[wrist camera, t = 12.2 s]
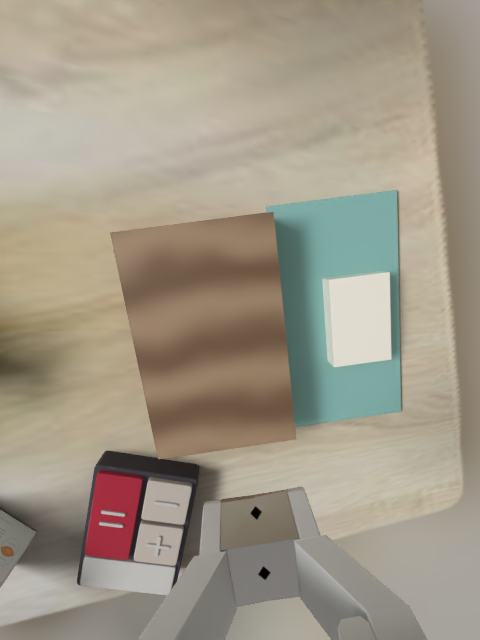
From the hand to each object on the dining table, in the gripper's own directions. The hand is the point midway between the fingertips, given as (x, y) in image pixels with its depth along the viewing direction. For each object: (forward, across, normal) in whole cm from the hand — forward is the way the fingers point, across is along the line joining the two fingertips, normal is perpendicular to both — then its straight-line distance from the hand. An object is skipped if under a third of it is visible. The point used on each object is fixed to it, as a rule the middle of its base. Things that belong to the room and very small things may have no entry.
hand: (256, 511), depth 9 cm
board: (+23, +2, 0) cm, 23 cm away
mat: (+23, -11, 0) cm, 26 cm away
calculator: (+24, +14, +21) cm, 34 cm away
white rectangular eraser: (+22, -13, +1) cm, 25 cm away
